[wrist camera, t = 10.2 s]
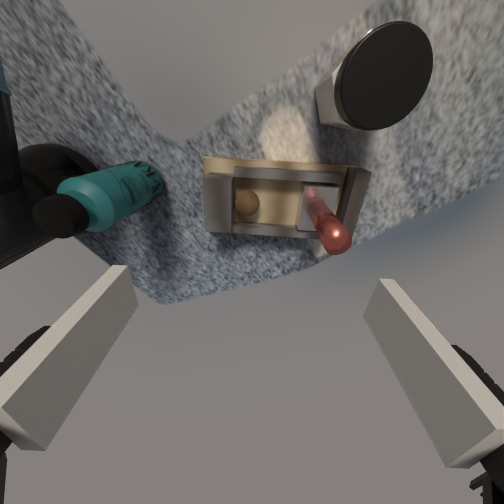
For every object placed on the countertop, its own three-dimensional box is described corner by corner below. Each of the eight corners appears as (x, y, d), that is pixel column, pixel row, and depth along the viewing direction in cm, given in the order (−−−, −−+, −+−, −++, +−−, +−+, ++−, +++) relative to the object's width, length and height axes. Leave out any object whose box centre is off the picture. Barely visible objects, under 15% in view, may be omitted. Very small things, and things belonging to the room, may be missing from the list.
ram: (295, 222, 38) (309, 267, 26) (301, 181, 35) (321, 211, 23) (324, 224, 38) (351, 270, 26) (333, 183, 35) (370, 214, 23)
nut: (238, 209, 38) (230, 217, 35) (239, 186, 36) (230, 192, 33) (261, 212, 38) (255, 221, 34) (263, 189, 36) (257, 195, 32)
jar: (337, 143, 34) (369, 151, 24) (301, 101, 32) (319, 89, 21) (391, 89, 30) (456, 71, 20) (354, 37, 28) (407, -15, 18)
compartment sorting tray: (209, 225, 42) (200, 242, 36) (206, 156, 36) (194, 162, 30) (337, 234, 41) (350, 252, 35) (356, 165, 35) (374, 173, 29)
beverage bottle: (148, 203, 40) (61, 263, 23) (121, 170, 38) (-1, 209, 20) (176, 185, 38) (103, 235, 21) (149, 149, 36) (41, 171, 18)
